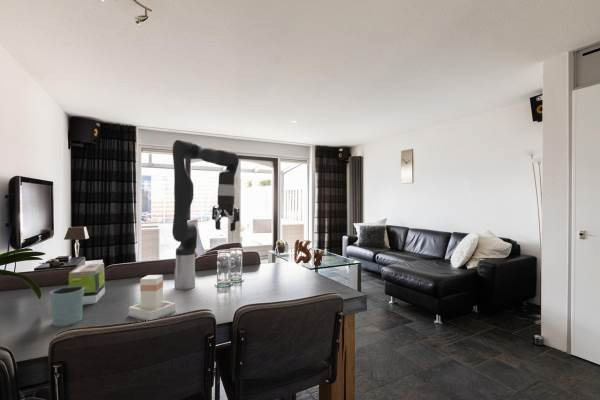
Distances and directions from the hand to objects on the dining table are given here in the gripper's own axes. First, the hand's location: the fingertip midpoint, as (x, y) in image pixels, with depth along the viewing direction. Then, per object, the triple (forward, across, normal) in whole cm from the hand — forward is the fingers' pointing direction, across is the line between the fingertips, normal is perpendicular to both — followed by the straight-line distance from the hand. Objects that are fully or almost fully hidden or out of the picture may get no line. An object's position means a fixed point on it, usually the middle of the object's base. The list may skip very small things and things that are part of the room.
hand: (225, 230), depth 135 cm
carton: (+31, -13, -27) cm, 43 cm away
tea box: (+34, -54, -29) cm, 70 cm away
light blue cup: (+33, -35, -46) cm, 66 cm away
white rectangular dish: (+32, -13, -27) cm, 44 cm away
